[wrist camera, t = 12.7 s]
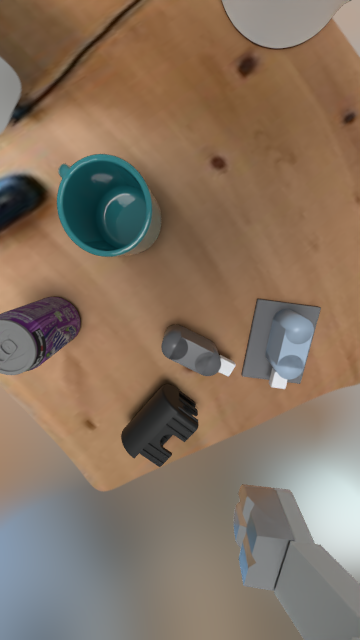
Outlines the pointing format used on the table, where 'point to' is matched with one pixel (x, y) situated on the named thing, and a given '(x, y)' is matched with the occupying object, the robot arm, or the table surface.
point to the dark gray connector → (194, 352)
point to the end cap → (160, 424)
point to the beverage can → (35, 333)
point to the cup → (107, 206)
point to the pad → (260, 332)
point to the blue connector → (288, 346)
